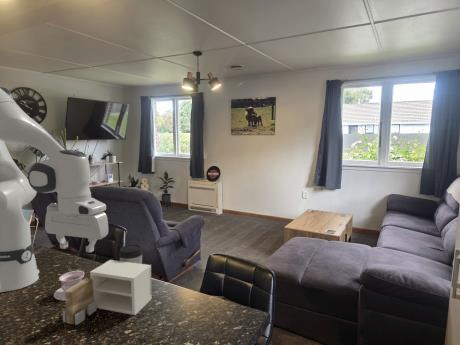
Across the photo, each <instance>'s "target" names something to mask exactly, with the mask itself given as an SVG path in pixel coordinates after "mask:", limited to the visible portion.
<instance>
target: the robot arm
mask: <svg viewBox="0 0 460 345" xmlns="http://www.w3.org/2000/svg"><path fill="white" fill-rule="evenodd" d="M4 141H5V142H11V143H15V144H20V145H24V146H29V147H33V148H35V149H37V150H39V151H40V152H42V153H43V155H45V157H47V158H48V159H47V158H46V159H45V160H41V161H38V162H36V163H35V162H34V163H33V164H31V166H30V168H29V169H28V173H27V176H26V175H25V174H24V173H23V172H22V171H21V169H20V168H19V166H18V165H17V163H16V162H15V161H14V160H13V158H12V156H11V153H10V152H9V150H8V147H7V146H6V143H5V142H4ZM90 184H91V169H90V161H89V157H88V155H87V154H86V153H84V152H82V151H80V150H75V149H73V150H72V149H67V147H65V146H64V144H63V143H61V141H59V140H58V139H57V137H55V136H54V135H53V134H52V133H51V132H50V131H49V130H48V129H46V128H45V127H44V126H42V125H41V124H39V123H38V122H36V121H35V120H34V119H32V117H30V116H29V115H28V114H27V113H26V112H25V111H24V110H23V109H22V108H21V107H20V105H19V104H18V103H17V102H16V99H15V97H14V95H13V93H12V92H11V91H10V90H8V88H6V87H2V86H0V293H4V292H12V291H16V290H20V289H23V288H26V287H28V286H31V285H33V284H34V283H36V282H37V281H38V280H39V279H40V277H39V273H40V269H38V267H37V261H36V257H35V254H34V244H33V242H32V235H31V234H32V232H31V225H30V223H29V221H28V220H26V218H25V216H24V213H23V209H22V208H23V207H24V206H26V205H28V204H29V203H30V202H32V201H33V200H34V198H36V195H37V193H40V194H49V193H54V192H56V193H57V202H50V204H48V205H47V207H46V214H45V218H44V219H45V221H44V230H45V232H46V233H47V234H51V235H52V234H53V235H55V238H56V240H57V241H58V243H59V248H60V249H61V250H62V249H63V250H65V249H68V248H69V241H67V240H66V238H65V236H67V237H74V238H84V239H88V240H87V242H89V244H88V245H86V246H85V253H92V252H94V250H95V245H96V243H97V241H98V240H103V238H106V237H107V236H108V234H109V221H108V215H107V214H106V213H105V211H106V210H107V205H106V203H104V202H102V201H100V200H98V199H96V198H94V197H92V192H91V189H90Z"/></svg>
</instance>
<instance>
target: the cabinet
mask: <svg viewBox="0 0 460 345" xmlns="http://www.w3.org/2000/svg"><path fill="white" fill-rule="evenodd" d="M89 276H90V277H89V279H92V286H93V302H92V303H90V304H89V305H88V306H87V314H86V315H87V316H91V315H92V314H93V313H94V312H96V311H97V309H100V310H106V311H111V312H117V313H121V314H128V315H132V316H136V315H137V314H138V313H139V312H140V311H141V310H142V309H143V308H144V307H145V306H146V305H147V304H148V303H149V302H151V300H152V298H153V297H152V296H153V295H152V264H146V263H142V264H138V263H131V262H123V261H120V260H117V259H116V260H114V259H109V260H107V261H105V262H104V263H102V264H101V265H99V266H97V267H95V268H94V269H92V270H91V271H89ZM86 315H85V310H83V309H82V310H81V311H79V312H78V313H77V314H75V324H74V325H80V324H81V323H82V322H83V321H84V320H86ZM62 323H67V318H66V309H65V310H64V311H63V312H62Z"/></svg>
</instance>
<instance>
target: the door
mask: <svg viewBox="0 0 460 345" xmlns="http://www.w3.org/2000/svg"><path fill="white" fill-rule="evenodd" d="M65 300H66V301H65V310H66V318H67V322H66V324H69V325H70V324H71V325H75V314H77V313H78V312H79V311H81V310H82V309H83V310H85V316H86V315H88V314H87V306H88V305H89V304H90V303H92V302H93V286H92V279H90V278H84V279H82V281H81V282H79V283H77V284H76V285H74V286H73V287H71V288H69V289H68V290H66V291H65Z"/></svg>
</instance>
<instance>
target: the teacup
mask: <svg viewBox="0 0 460 345" xmlns="http://www.w3.org/2000/svg"><path fill="white" fill-rule="evenodd" d="M84 277H85V272H84V271H83V270H73V271H68V272H65V273H63V274H62V275H60V277H59V278H58V280H59V282H61V284H60V285H61V287H60V288H58V289H57V290H56V291H55V292H54V293H53V298H55V299H56V300H58V301H62V302H63V301H65V302H66V300H65V291H66V290H68V289H69V288H71V287H73V286H74V285H76V284H77V283H79V282H81V281H82V280H83V278H84Z"/></svg>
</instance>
